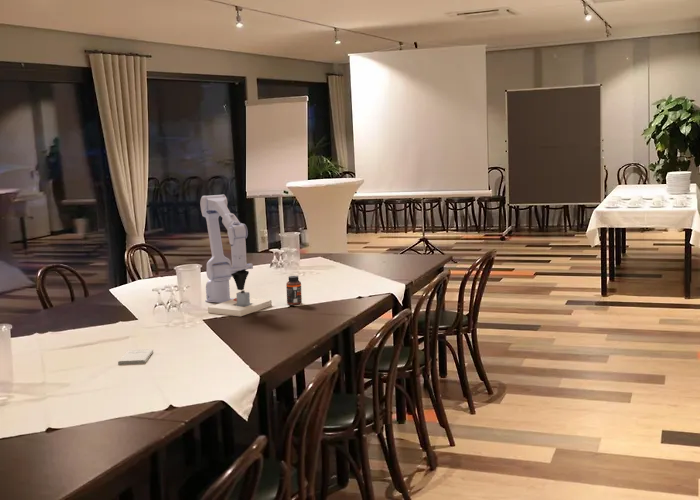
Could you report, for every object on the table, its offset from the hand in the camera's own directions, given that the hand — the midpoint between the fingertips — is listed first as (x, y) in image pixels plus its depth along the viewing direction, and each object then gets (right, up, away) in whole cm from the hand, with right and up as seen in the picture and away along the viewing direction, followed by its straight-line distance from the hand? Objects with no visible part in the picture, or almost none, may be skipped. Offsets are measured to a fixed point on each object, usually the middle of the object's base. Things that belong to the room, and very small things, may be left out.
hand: (240, 289), depth 303 cm
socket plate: (-1, -8, +3) cm, 8 cm away
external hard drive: (-24, -19, -61) cm, 68 cm away
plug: (+1, -8, +1) cm, 8 cm away
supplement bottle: (+20, -6, +9) cm, 23 cm away
